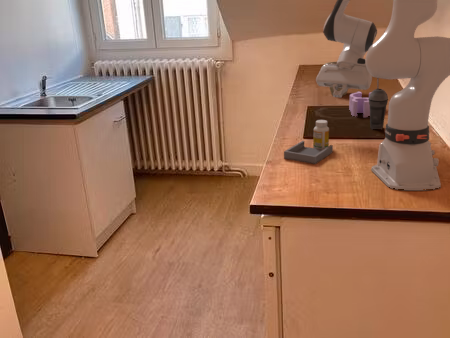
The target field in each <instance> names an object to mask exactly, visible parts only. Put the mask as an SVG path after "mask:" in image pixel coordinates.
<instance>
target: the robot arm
mask: <svg viewBox="0 0 450 338" xmlns="http://www.w3.org/2000/svg"><path fill="white" fill-rule="evenodd" d="M350 1H351V0H336V2H335V4H334V6H333V8H332V11H331V12H330V14H329V15H328V17H327V18H326V20H325V21H324V25H323V29H322V30H323V31H322V33H323V35H324V37H325V39H327V41H331V42H336V43H337V42H338V43H341V44H343V45H342V46H343V47H342V51H341V52H340V53H339V56H338V59H337V61H336V62H337V63H336V64H326V65H325V64H323V65H322V66H321V67H320V70H319V72H318V74H317V76H316V78H315V82H316V84H317V86H318V87H324V88H325V87H327V88H329V87H333V90H334V92H333V95H332V97H333V98H342V97H343V96H344V95H343V94H344V93H345V92H346V91H347V90H348V91H349V89H350V90H363V91H367V90H369V89H370V88H371V84H372V81H373V78H376V79H377V78H379V79H383V80H401V79H402V80H404V79H406V80H407V79H410V80H409V82H408V84H407V85H406V86H405V87H403V88H402V89H401V90H400V91H397V92H396V93H394V94H393V95H392V96H391V98H389V99H390V100H388V101H389V102H388V113H387V122H386V124H385V128H384V136H385V138H384V139H383V140H382V141H381V142H380V143H379V146H378V151H377V152H378V153H377V163H376V164H374V165H372V166H371V171H372V172H373V174H374V175H375V176H377V178H378V179H380V181H382V182H383V183H384V184H385V185H386V186H387V187H388V188H389V187H390V189H393V188H395V189H394V190H398V189H404V190H403V191H427V190H426V189H433V190H436V189H435V188H438V189H440V188H441V185H442V183H441V179H440V177H439V173H438V169H437V167H438V166H439V161H440V160H439V158H438V157H434V158H433V156H434V155H436V154H435V152H436V151H435V150H433V149H432V142H431V141H430V133H431V131H430V126H429V118H430V117H429V116H430V110H431V106H432V101H433V98H434V95H435V94H436V92H437V90H438V89H439V87H440V86H441V84H442V83H443V82H444V81H445V80H446V79H447V78H448V77H450V37H444V36H425V37H415V33H416V31H417V28H418V27H419V26H420V25H422V24H424V23H426V22H427V21H429V20H430V19H432V18H433V17H434V16H435V14H436V12H437V10H438V0H392V12H391V16H390V20H389V23H388V26H387V27H386V29H385V31H384V32H383V33H382V35H381V36H380V37H379V38H378V39H377V40H376V41H375V39H376V36H377V34H378V29H377V26H376V24H375V23H374V22H373V21H370V20H366V19H363V18H359V17H357V16H356V17H355V16H351V15H348V14H346V13H345V10H346V9H347V7H348V4H350ZM364 56H365V58H364ZM338 88H342V89H341V90H340V91H336V89H337V90H338ZM348 88H349V89H348ZM348 91H347V92H348ZM439 187H440V188H439ZM423 189H425V190H423Z"/></svg>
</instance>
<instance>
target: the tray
mask: <svg viewBox="0 0 450 338" xmlns="http://www.w3.org/2000/svg"><path fill="white" fill-rule="evenodd" d="M333 148H334V146H333V145H332V144H330V145H329V146H328V147H327V148H325V149H316V148H314V147H309V146H305V140H302V141H300V142H298V143H296V144H295V145H292V146H291V147H289V148H288V149H285V150H284V151H283V159H287V160H291V161H297V162H302V163H308V164H313V165H317V164H318V163H319V162H320V161H322V160H324V159H325V158H326V157H328V156H330V154H332V153H333V152H334V151H333Z"/></svg>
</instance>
